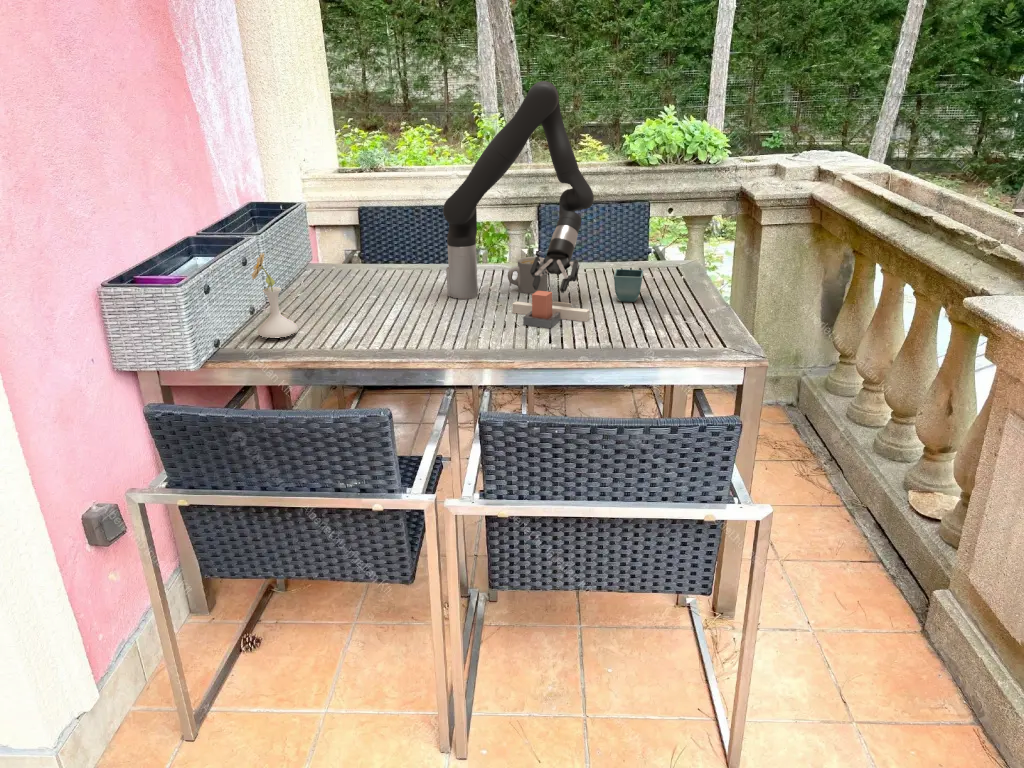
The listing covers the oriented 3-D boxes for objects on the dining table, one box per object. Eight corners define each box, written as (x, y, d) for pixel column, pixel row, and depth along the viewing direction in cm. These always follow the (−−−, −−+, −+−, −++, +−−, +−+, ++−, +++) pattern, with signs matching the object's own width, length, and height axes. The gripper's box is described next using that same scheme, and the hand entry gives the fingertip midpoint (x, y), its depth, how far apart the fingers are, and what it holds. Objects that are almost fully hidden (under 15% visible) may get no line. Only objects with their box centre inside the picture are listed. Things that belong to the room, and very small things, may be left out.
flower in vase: (265, 329, 228) (252, 245, 218) (303, 329, 227) (292, 245, 218) (250, 344, 216) (236, 256, 206) (290, 344, 215) (278, 256, 206)
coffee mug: (546, 285, 266) (546, 256, 262) (548, 293, 257) (548, 263, 253) (507, 286, 266) (506, 257, 262) (508, 294, 257) (507, 264, 253)
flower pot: (640, 304, 243) (642, 276, 240) (612, 303, 245) (613, 275, 241) (642, 296, 251) (643, 269, 248) (615, 295, 253) (615, 268, 249)
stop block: (532, 323, 228) (531, 294, 224) (538, 319, 231) (538, 290, 228) (546, 325, 226) (546, 296, 222) (552, 321, 230) (552, 291, 226)
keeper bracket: (523, 325, 227) (523, 317, 226) (533, 317, 233) (533, 309, 232) (550, 328, 223) (550, 320, 222) (560, 320, 230) (560, 312, 229)
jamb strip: (512, 313, 238) (512, 303, 236) (527, 303, 247) (526, 293, 246) (586, 321, 228) (586, 312, 227) (598, 311, 238) (598, 301, 237)
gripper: (537, 235, 235) (522, 281, 229) (582, 238, 229) (567, 286, 224) (544, 248, 241) (530, 294, 236) (587, 252, 235) (573, 299, 230)
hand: (548, 290), depth 230 cm, fingers open, 8 cm apart
